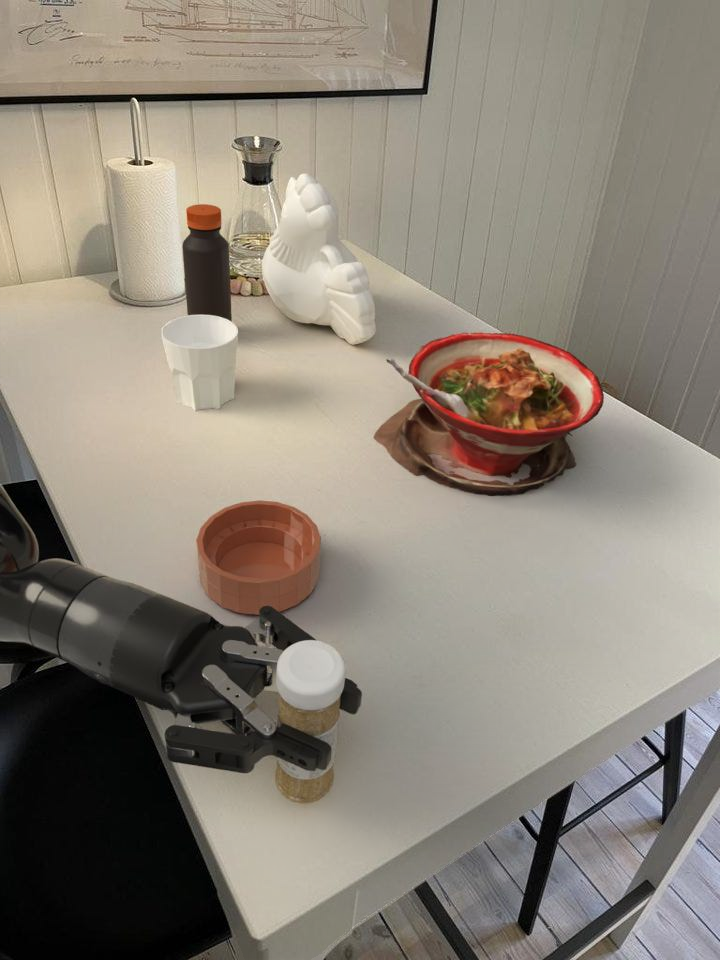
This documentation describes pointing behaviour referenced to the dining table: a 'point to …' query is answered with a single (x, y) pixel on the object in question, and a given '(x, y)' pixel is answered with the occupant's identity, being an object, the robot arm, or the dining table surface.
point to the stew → (491, 410)
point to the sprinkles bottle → (309, 712)
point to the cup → (201, 359)
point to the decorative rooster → (317, 266)
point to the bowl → (258, 556)
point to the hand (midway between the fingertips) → (343, 729)
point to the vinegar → (206, 263)
